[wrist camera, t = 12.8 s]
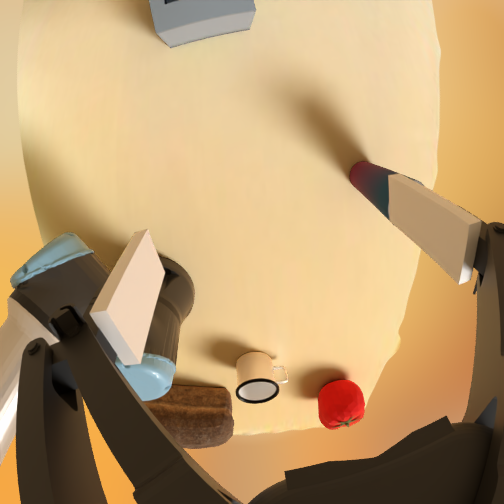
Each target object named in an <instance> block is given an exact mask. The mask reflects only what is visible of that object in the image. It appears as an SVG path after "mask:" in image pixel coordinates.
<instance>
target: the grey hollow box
mask: <svg viewBox="0 0 504 504" xmlns="http://www.w3.org/2000/svg"><path fill="white" fill-rule="evenodd" d="M149 4H150V8H151V13H152V18H153V22H154V27H155V31H156V34H157V35H158V36H159V37H160V38H161V39H162V40H163V41H164V42H165V43H166V44H167V45H168V46H169V47H170V48H172V47H176V46H179V45H182V44H186V43H190V42H193V41H197V40H201V39H205V38H209V37H214V36H218V35H223V34H228V33H233V32H238V31H244V30H250V27H251V24H252V21H253V18H254V15H255V12H256V7H255V4H254V0H149Z"/></svg>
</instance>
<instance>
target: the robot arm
mask: <svg viewBox="0 0 504 504" xmlns="http://www.w3.org/2000/svg"><path fill="white" fill-rule="evenodd" d="M388 180H389V216H390V222H391V223H393V224H394V225H395V226H396V227H397V228H398V229H400V230H401V231H402V232H403V233H404V234H405V235H407V236H408V237H409V238H410V239H411V240H412V241H413V242H414V243H416V244H417V245H418V246H419V247H420V248H421V249H422V250H423V251H424V252H425V253H426V254H428V255H429V256H430V257H431V258H432V259H433V260H434V261H435V262H436V263H437V264H438V265H439V266H440V267H441V268H442V269H443V270H444V271H445V272H446V273H447V274H448V275H449V276H451V278H453V280H455V282H456V283H457V284H458V285H459V284H461V283H464V282H466V281H469V280H471V275H472V271H473V267H474V268H475V269H476V270H477V271H478V272H479V273H478V277H477V281H476V285H475V289H474V292H473V294H475V293H476V291H477V330H476V346H475V357H474V367H473V375H472V382H471V389H470V395H469V400H468V406H467V410H466V413H465V416H464V418H463V420H462V422H459V423H452V424H451V423H450V421H449V420H448V418H447V416H445V417H443V418H441V419H439V420H437V421H435V422H433V423H431V424H429V425H427V426H425V427H423V428H421V429H418V430H416V431H414V432H412V433H411V434H409V435H408V436H407V437H405V438H404V439H402V440H401V441H400V442H398V443H397V444H395V445H394V446H392V447H391V448H390V449H388V450H387V451H385V452H384V453H382V454H380V455H379V456H377V457H374V458H368V459H359V460H347V461H328V462H325V463H320V464H316V465H312V466H308V467H304V468H299V469H294V470H289V471H285V478H286V479H285V480H283V481H281V482H278V483H276V484H274V485H272V486H271V487H269V488H267V489H266V490H264V491H263V492H261V493H260V494H258V495H257V496H256V497H255V498H254V499H253V500H251V501H250V502H249V503H248V504H504V224H502V223H499V222H493V223H490V224H486V223H485V222H483V221H482V220H480V219H479V218H477V217H476V216H474V215H472V214H471V213H470V212H468V211H466V210H465V209H463V208H462V207H460V206H458V205H455V204H453V203H452V202H451V201H449V200H447V199H445V198H444V197H442V196H440V195H439V194H437V193H435V192H433V191H432V190H430V189H428V188H426V187H424V186H422V185H421V184H419V183H417V182H415V181H413V180H411V179H409V178H407V177H405V176H403V175H401V174H394V175H388ZM10 282H11V284H12V287H13V288H15V290H14V292H13V293H12V294H11V295H10V297H9V298H8V300H7V301H8V318H7V320H6V321H5V322H4V324H3V325H2V327H1V328H0V465H1V463H2V461H3V459H4V457H5V454H6V452H7V450H8V448H9V446H10V444H11V442H12V440H13V438H14V436H15V434H16V459H17V474H18V485H19V493H20V500H21V504H108V503H107V500H106V497H105V494H104V491H103V488H102V485H101V481H100V478H99V474H98V471H97V467H96V464H95V459H94V455H93V451H92V447H91V443H90V439H89V433H88V428H87V423H86V417H85V411H84V405H83V399H84V401H85V403H86V405H87V407H88V409H89V411H90V414H91V415H92V417H93V419H94V421H95V423H96V425H97V427H98V429H99V431H100V432H101V434H102V436H103V438H104V440H105V441H106V443H107V445H108V446H109V448H110V450H111V452H112V453H113V455H114V456H115V458H116V460H117V461H118V463H119V464H120V466H121V468H122V469H123V471H124V472H125V474H126V475H127V477H128V478H129V480H130V481H131V482H132V484H133V486H134V487H135V491H134V492H133V496H134V499H135V501H136V502H137V504H243V503H241V502H240V501H239V500H238V499H237V498H235V497H234V496H233V495H232V494H230V493H229V492H228V491H227V490H225V489H224V488H223V487H222V486H221V485H220V484H218V483H217V482H216V481H215V480H214V479H213V478H212V477H211V476H210V475H209V474H208V473H207V472H206V471H205V470H204V469H203V468H202V467H201V466H199V464H198V463H197V462H196V461H195V460H194V459H192V457H191V456H190V455H189V454H188V453H187V452H186V451H185V450H184V449H183V448H182V447H181V446H180V445H179V444H178V443H177V441H176V440H175V439H174V438H173V437H172V436H171V435H170V434H169V432H168V431H167V430H166V429H165V428H164V427H163V426H162V424H161V423H160V422H159V421H158V420H157V418H156V417H155V416H154V415H153V414H152V412H151V411H150V410H149V409H148V407H147V406H146V405H145V404H144V402H143V401H149V400H154V399H157V398H159V397H162V396H163V395H165V394H166V393H167V392H168V391H169V389H170V388H171V385H172V381H173V376H174V373H175V371H176V359H177V350H178V341H179V333H180V326H181V324H182V323H183V321H184V319H185V318H186V317H187V316H188V315H189V313H190V311H191V309H192V307H193V303H194V295H195V290H194V285H193V282H192V280H191V278H190V276H189V275H188V273H187V272H186V271H185V270H184V269H183V268H182V267H181V266H180V265H178V264H177V263H175V262H174V261H172V260H169V259H167V258H164V257H160V256H158V254H157V251H156V249H155V246H154V244H153V241H152V239H151V236H150V234H149V231H148V229H146V230H142V231H138V232H135V233H134V235H133V236H132V238H131V240H130V241H129V243H128V245H127V246H126V248H125V250H124V251H123V253H122V255H121V256H120V258H119V260H118V261H117V263H116V265H115V267H114V268H113V270H112V272H110V271H109V270H108V268H107V267H106V266H105V265H104V264H103V263H102V262H101V260H100V259H99V258H98V257H97V256H96V255H95V253H94V251H93V250H92V249H90V248H89V247H88V246H87V245H86V244H85V243H84V242H83V241H82V240H81V239H80V238H79V237H78V236H77V235H76V234H74V233H71V232H67V233H63V234H61V235H60V236H58V237H57V238H55V239H54V240H52V241H51V242H50V243H48V244H47V245H46V246H44V247H43V248H42V249H41V250H39V251H38V252H37V253H36V254H35V255H33V256H32V257H31V258H30V259H29V260H28V261H27V262H26V263H25V264H24V265H23V266H22V267H21V268H19V269H18V270H17V271H16V272H15V274H13V276H12V277H11V279H10ZM82 397H83V399H82Z"/></svg>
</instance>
